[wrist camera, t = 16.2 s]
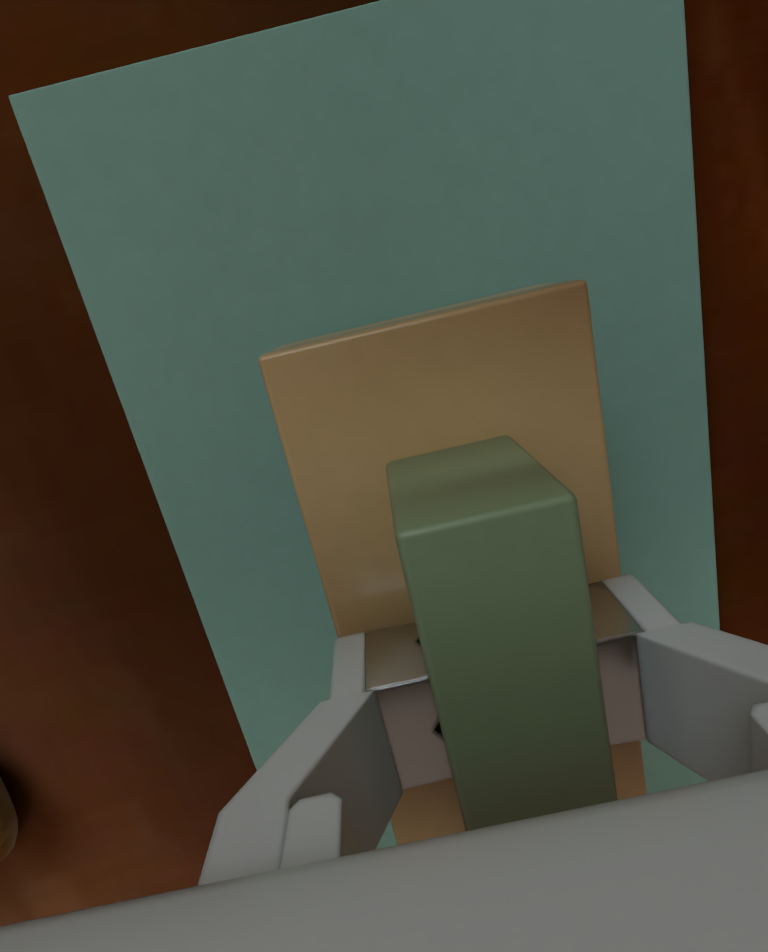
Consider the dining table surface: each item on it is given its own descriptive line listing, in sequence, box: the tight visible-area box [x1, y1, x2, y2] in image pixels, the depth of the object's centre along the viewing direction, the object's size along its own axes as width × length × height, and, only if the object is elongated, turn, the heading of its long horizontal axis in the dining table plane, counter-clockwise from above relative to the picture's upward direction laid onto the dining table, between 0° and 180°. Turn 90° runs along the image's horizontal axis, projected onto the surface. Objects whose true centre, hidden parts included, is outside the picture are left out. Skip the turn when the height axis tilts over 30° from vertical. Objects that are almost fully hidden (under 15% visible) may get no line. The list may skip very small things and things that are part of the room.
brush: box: [258, 280, 647, 845], centre depth 10 cm, size 12×5×7 cm, turn 13°
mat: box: [9, 0, 720, 849], centre depth 14 cm, size 22×13×1 cm, turn 13°
